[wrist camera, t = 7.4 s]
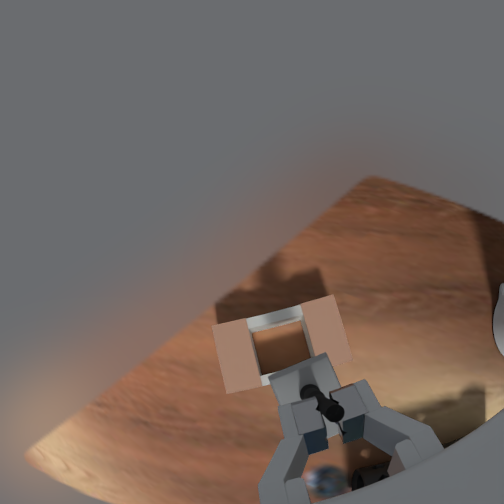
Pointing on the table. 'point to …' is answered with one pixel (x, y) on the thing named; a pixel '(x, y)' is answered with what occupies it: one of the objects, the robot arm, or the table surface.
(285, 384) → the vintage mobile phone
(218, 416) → the table surface
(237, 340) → the tan rectangular frame
